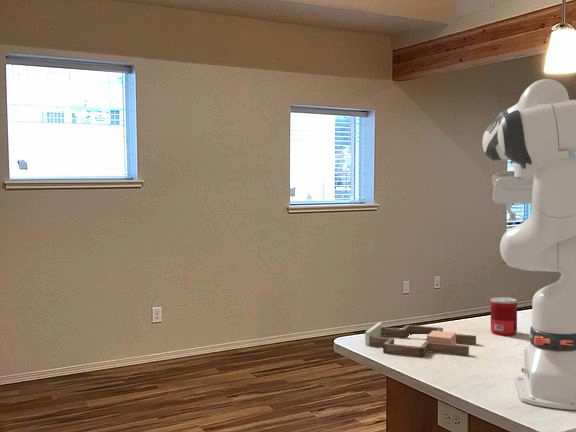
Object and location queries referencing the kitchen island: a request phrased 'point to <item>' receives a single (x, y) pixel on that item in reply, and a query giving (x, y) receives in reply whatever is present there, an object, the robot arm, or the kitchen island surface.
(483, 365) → the kitchen island surface
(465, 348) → the box
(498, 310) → the canned food
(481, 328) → the kitchen island surface
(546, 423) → the kitchen island surface
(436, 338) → the block
